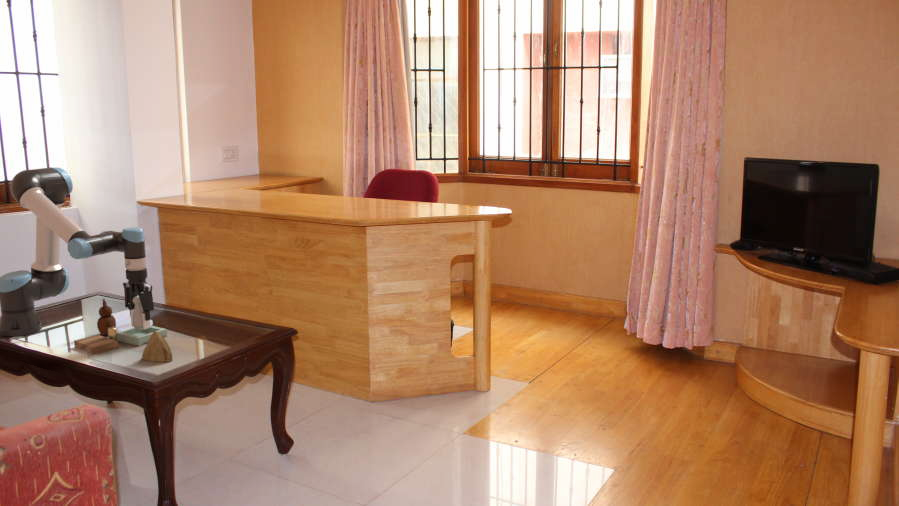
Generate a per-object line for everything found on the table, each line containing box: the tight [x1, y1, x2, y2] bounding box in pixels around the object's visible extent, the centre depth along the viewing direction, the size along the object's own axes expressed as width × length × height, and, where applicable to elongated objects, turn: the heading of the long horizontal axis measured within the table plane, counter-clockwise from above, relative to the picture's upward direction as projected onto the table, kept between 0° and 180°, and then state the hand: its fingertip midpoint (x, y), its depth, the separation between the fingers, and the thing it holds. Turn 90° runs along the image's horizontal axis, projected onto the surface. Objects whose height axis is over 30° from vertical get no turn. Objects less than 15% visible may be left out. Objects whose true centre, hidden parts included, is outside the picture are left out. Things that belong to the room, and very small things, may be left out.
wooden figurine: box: [96, 298, 117, 337], centre depth 297 cm, size 7×6×15 cm
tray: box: [117, 325, 168, 346], centre depth 294 cm, size 13×13×3 cm
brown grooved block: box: [73, 334, 119, 355], centre depth 283 cm, size 14×9×3 cm, turn 55°
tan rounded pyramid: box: [140, 331, 173, 363], centre depth 269 cm, size 11×9×10 cm
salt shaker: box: [133, 295, 146, 331], centre depth 292 cm, size 6×6×13 cm
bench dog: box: [107, 326, 118, 341], centre depth 288 cm, size 3×3×6 cm
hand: (141, 326), depth 293 cm, fingers closed on salt shaker, 6 cm apart
